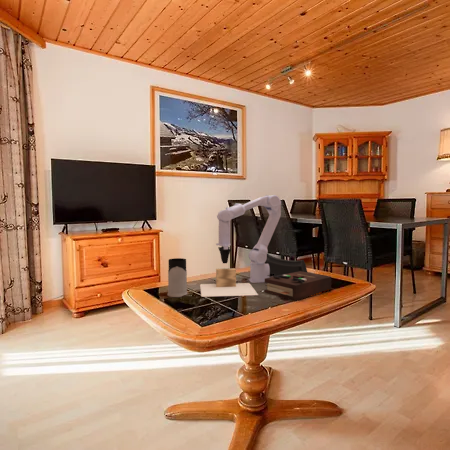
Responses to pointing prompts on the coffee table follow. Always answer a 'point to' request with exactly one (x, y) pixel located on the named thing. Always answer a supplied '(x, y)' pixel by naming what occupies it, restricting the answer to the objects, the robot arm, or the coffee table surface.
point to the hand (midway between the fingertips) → (224, 262)
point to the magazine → (284, 265)
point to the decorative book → (297, 285)
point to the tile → (226, 277)
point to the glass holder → (177, 277)
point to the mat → (227, 290)
